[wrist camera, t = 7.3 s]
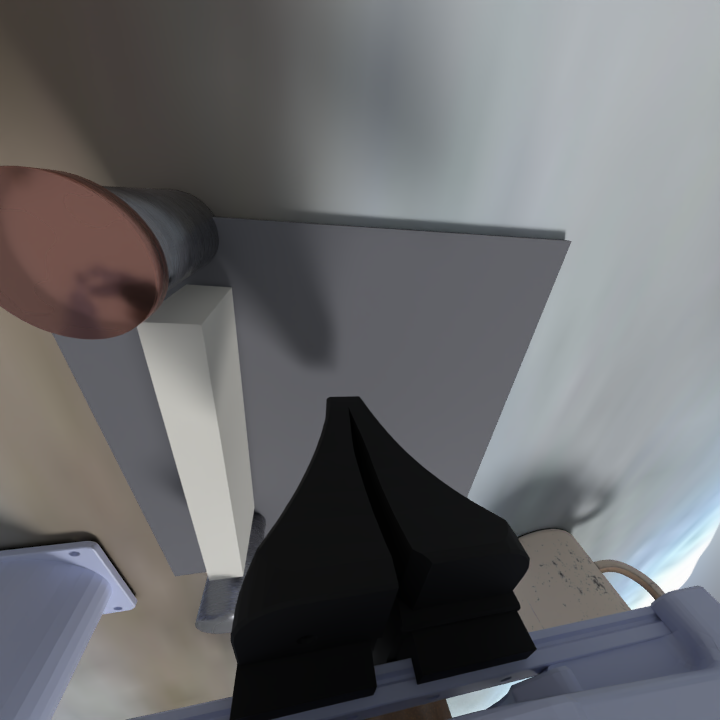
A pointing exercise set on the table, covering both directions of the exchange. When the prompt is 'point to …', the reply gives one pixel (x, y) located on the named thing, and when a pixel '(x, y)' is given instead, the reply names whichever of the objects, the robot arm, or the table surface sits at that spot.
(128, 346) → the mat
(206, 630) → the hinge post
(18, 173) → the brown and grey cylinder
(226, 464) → the white long block
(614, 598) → the teacup with lid
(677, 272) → the table surface
